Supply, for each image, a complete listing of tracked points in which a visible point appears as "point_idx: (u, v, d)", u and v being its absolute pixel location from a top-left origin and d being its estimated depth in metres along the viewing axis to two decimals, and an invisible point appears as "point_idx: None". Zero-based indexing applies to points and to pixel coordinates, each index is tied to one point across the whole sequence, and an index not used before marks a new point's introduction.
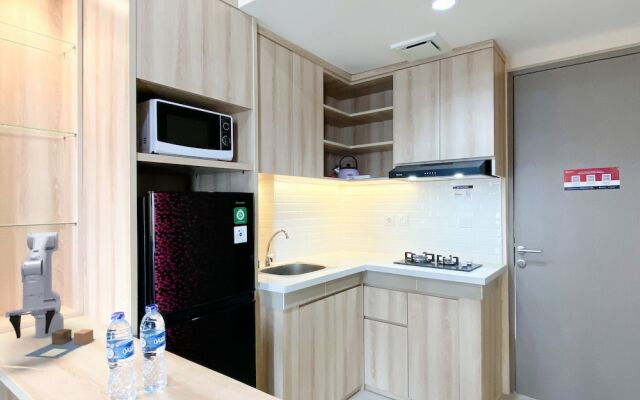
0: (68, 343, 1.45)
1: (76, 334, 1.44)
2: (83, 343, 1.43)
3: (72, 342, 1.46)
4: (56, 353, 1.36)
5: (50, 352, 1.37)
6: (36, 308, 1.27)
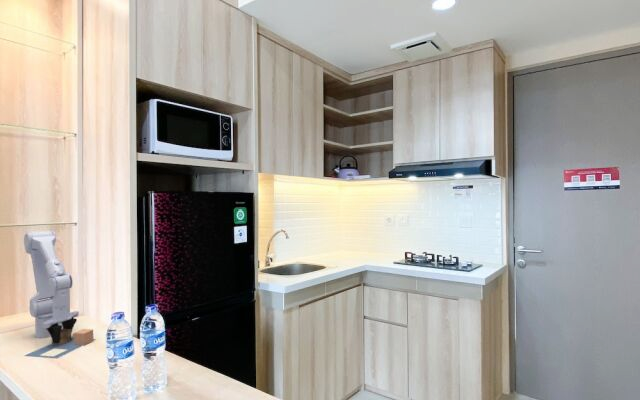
0: (68, 343, 1.45)
1: (76, 334, 1.44)
2: (83, 343, 1.43)
3: (72, 342, 1.46)
4: (56, 353, 1.36)
5: (50, 352, 1.37)
6: (70, 316, 1.47)
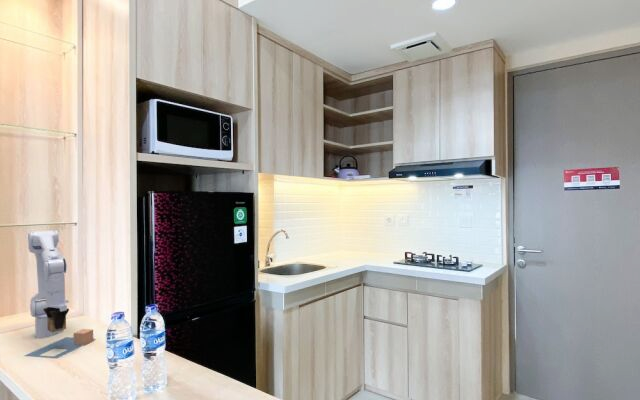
0: (68, 343, 1.45)
1: (76, 334, 1.44)
2: (83, 343, 1.43)
3: (72, 342, 1.46)
4: (56, 353, 1.36)
5: (50, 352, 1.37)
6: None
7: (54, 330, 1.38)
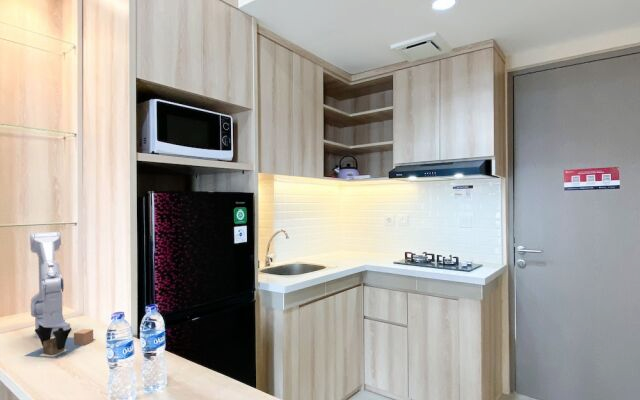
0: (68, 343, 1.45)
1: (76, 334, 1.44)
2: (83, 343, 1.43)
3: (72, 342, 1.46)
4: None
5: None
6: None
7: (54, 353, 1.35)
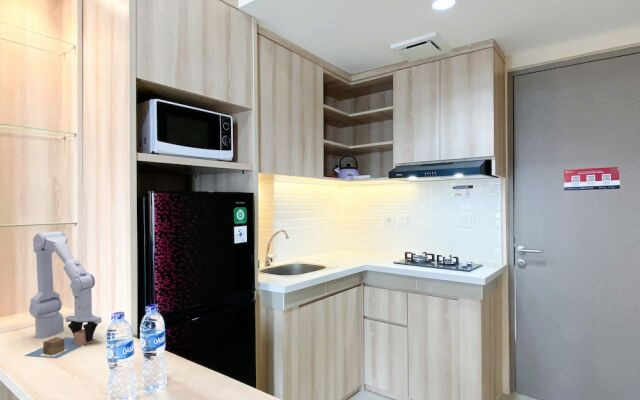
0: (68, 343, 1.45)
1: (76, 334, 1.44)
2: (83, 343, 1.43)
3: (72, 342, 1.46)
4: None
5: None
6: None
7: (54, 353, 1.35)
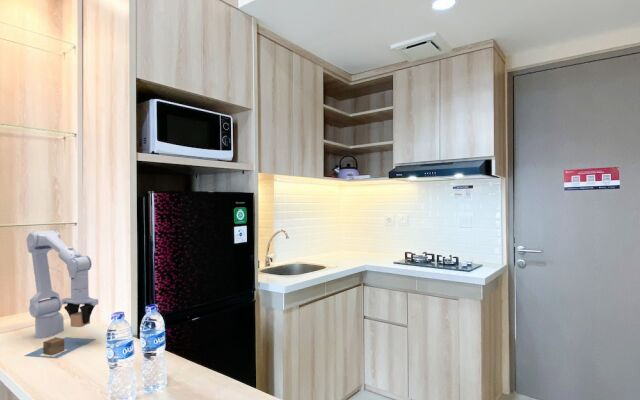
0: (68, 343, 1.45)
1: (73, 316, 1.43)
2: (80, 325, 1.42)
3: (72, 342, 1.46)
4: None
5: None
6: None
7: (54, 353, 1.35)
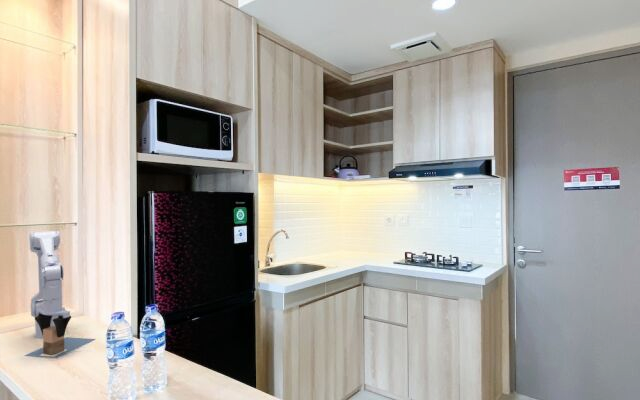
0: (68, 343, 1.45)
1: (45, 331, 1.35)
2: (51, 341, 1.34)
3: (72, 342, 1.46)
4: None
5: None
6: None
7: (54, 353, 1.35)
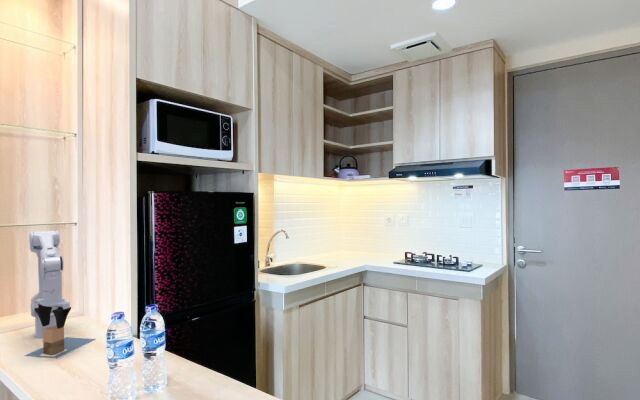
0: (68, 343, 1.45)
1: (45, 331, 1.35)
2: (51, 341, 1.34)
3: (72, 342, 1.46)
4: None
5: None
6: None
7: (54, 353, 1.35)
